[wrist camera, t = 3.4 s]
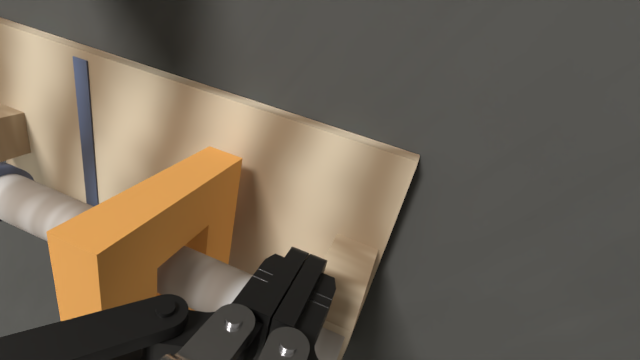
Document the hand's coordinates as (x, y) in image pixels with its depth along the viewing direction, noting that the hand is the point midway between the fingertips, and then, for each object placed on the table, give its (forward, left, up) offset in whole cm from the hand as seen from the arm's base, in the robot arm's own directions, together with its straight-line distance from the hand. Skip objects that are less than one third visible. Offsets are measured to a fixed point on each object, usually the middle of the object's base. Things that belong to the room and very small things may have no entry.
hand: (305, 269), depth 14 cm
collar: (+7, +3, -5) cm, 9 cm away
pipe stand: (+11, +3, -7) cm, 13 cm away
